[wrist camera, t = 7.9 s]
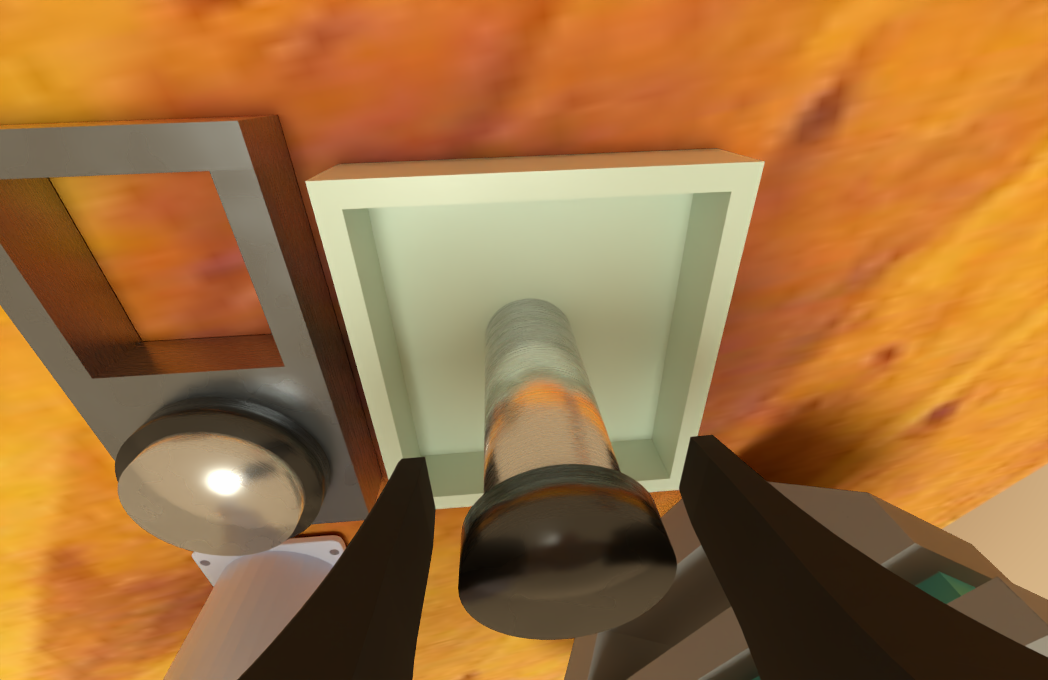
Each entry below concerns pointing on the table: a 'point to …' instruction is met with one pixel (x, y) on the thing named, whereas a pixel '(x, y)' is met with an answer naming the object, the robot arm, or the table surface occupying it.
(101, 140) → the tensioner plate
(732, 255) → the tray
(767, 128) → the table surface
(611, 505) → the clear jar with lid
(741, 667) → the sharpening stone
